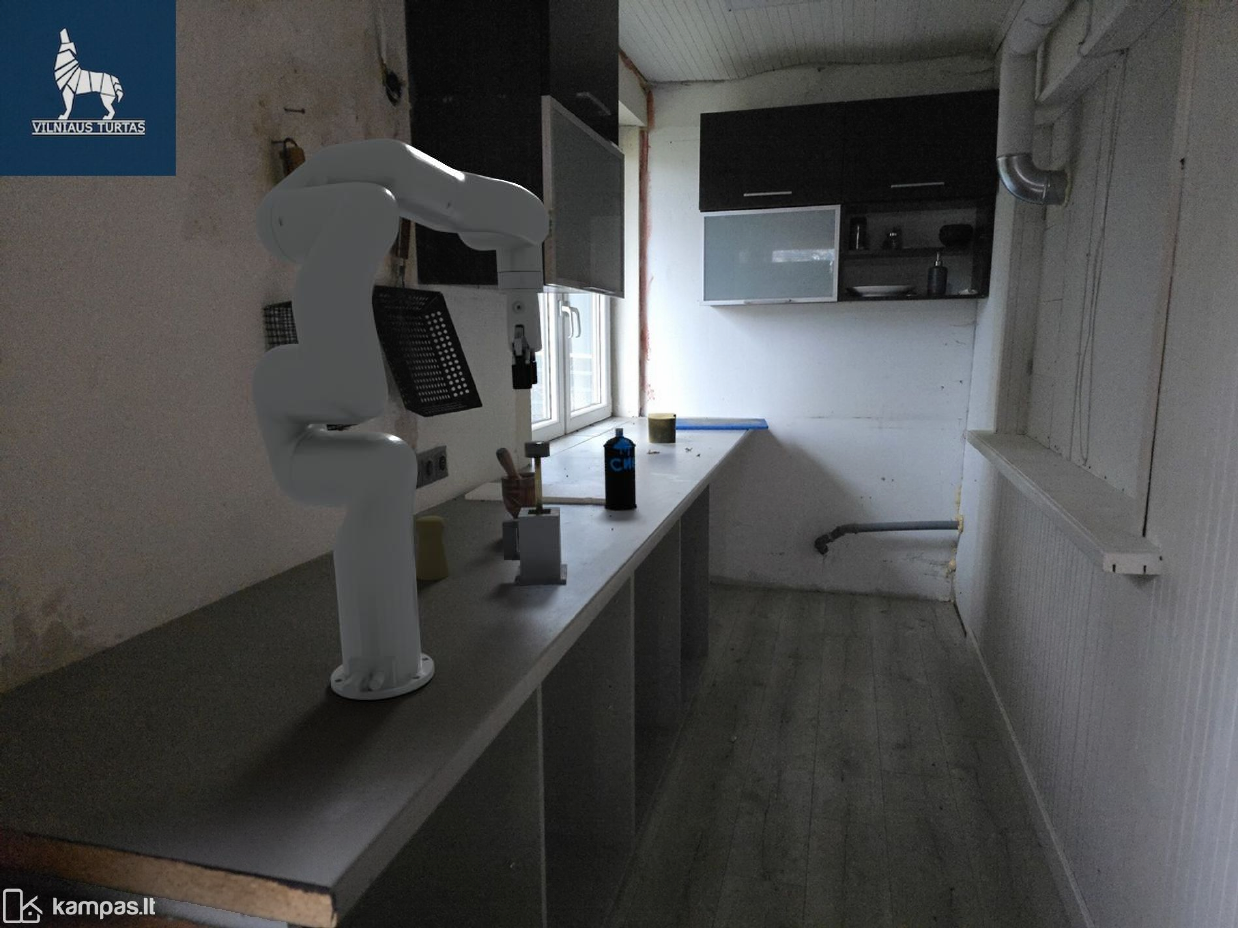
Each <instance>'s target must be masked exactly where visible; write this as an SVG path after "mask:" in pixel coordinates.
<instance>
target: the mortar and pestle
mask: <svg viewBox="0 0 1238 928" xmlns="http://www.w3.org/2000/svg"><path fill="white" fill-rule="evenodd" d="M495 455H496V459H497V461H498V462H499V464H500V466H501V467H502V468H503V470H504V471H505V473H506V474H503V475H501V477H500V480H501V481H500V482H501V483H500V484H501V494H502V495H501V496H502V500H503V504H504V506H505V510H506V511H507V513H509V514H510V515H511V516H512V519H518V516H519V513H520V510H521V508H535V507H536V496H535V471H519V472H518V471H517V468H516V466H515V464H514V460H513V457H512V454H511V452H510V450H509V449H508V448H506V447H500V448H498V449H497V450H496V452H495ZM517 538H519V528H517Z"/></svg>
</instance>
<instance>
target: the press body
mask: <svg viewBox="0 0 1238 928" xmlns="http://www.w3.org/2000/svg"><path fill="white" fill-rule="evenodd" d="M501 528H502V547H503V549H502V550H503V551H502V552H503V553H502V554H503V561H519V565H518V567H517V570H516V573H515V574H516V575H515V579H514V586H534V585H535V586H538V585H539V586H541V585H563V584H565V585H566V584H567V579H568V564H566V563H564V564H563V562H562V540H561V539H562V538H561V537H562V534H561V530H562V529H561V507H560V506H547V507H546V506H543V514H536V507H535V508H521V510H520V513H519V516H518V519H513V518H511V519H503V520H502V521H501ZM517 528H519V537H518V536H517ZM518 545H519V548H518Z"/></svg>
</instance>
